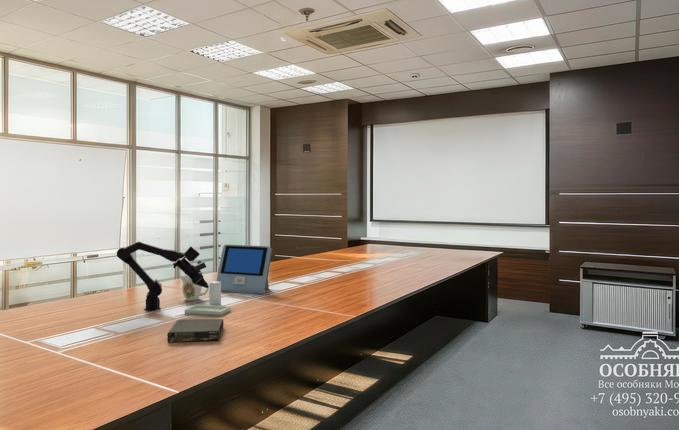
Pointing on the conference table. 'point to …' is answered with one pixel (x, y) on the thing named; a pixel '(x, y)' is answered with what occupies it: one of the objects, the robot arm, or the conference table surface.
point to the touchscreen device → (244, 268)
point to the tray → (207, 310)
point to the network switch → (195, 330)
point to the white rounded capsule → (215, 293)
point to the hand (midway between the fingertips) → (207, 286)
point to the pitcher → (191, 289)
